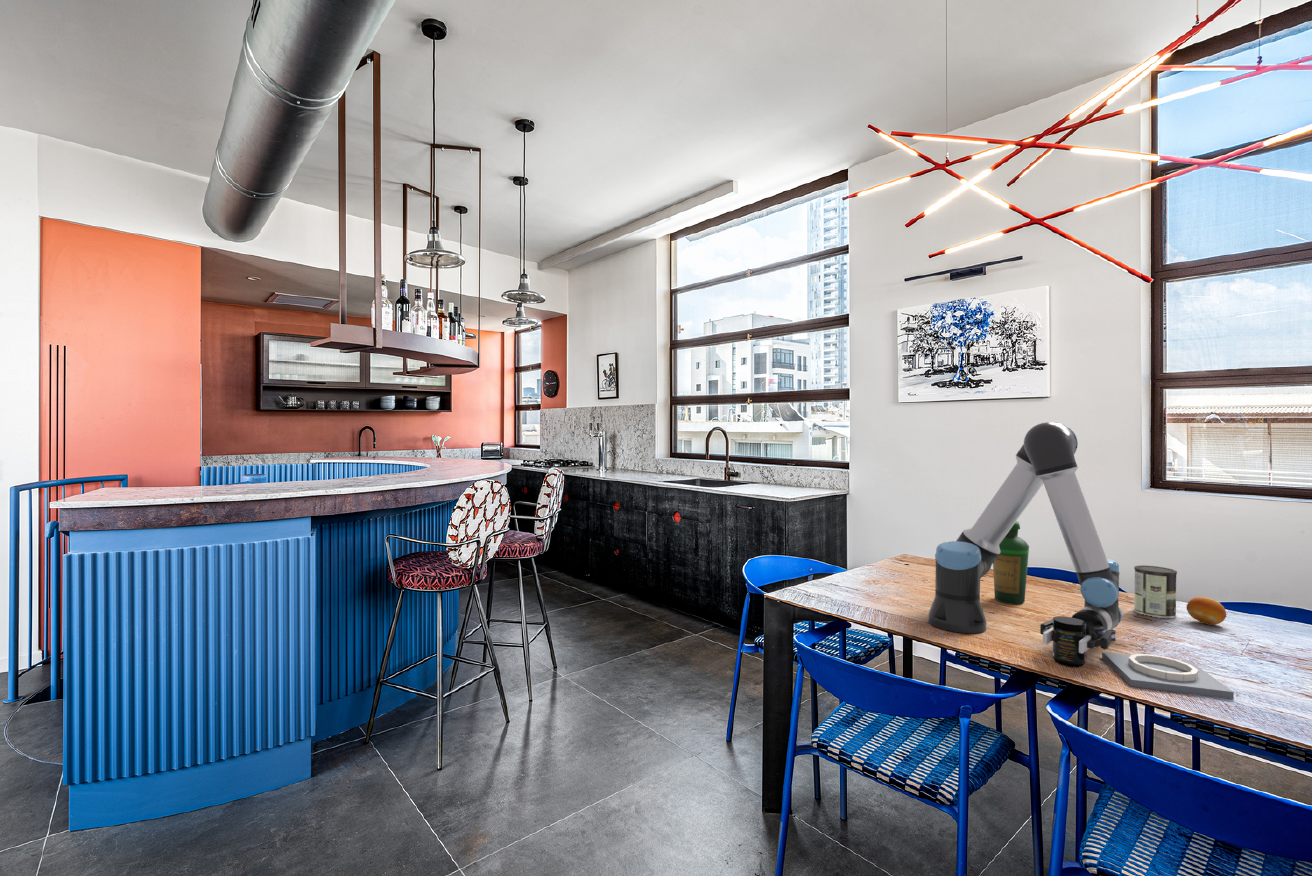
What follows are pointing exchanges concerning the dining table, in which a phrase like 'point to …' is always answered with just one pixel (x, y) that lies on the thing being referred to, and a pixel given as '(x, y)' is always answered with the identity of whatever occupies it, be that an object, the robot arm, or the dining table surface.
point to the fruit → (1206, 610)
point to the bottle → (1011, 568)
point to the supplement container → (1068, 641)
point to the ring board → (1166, 674)
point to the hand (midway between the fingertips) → (1062, 643)
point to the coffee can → (1155, 591)
